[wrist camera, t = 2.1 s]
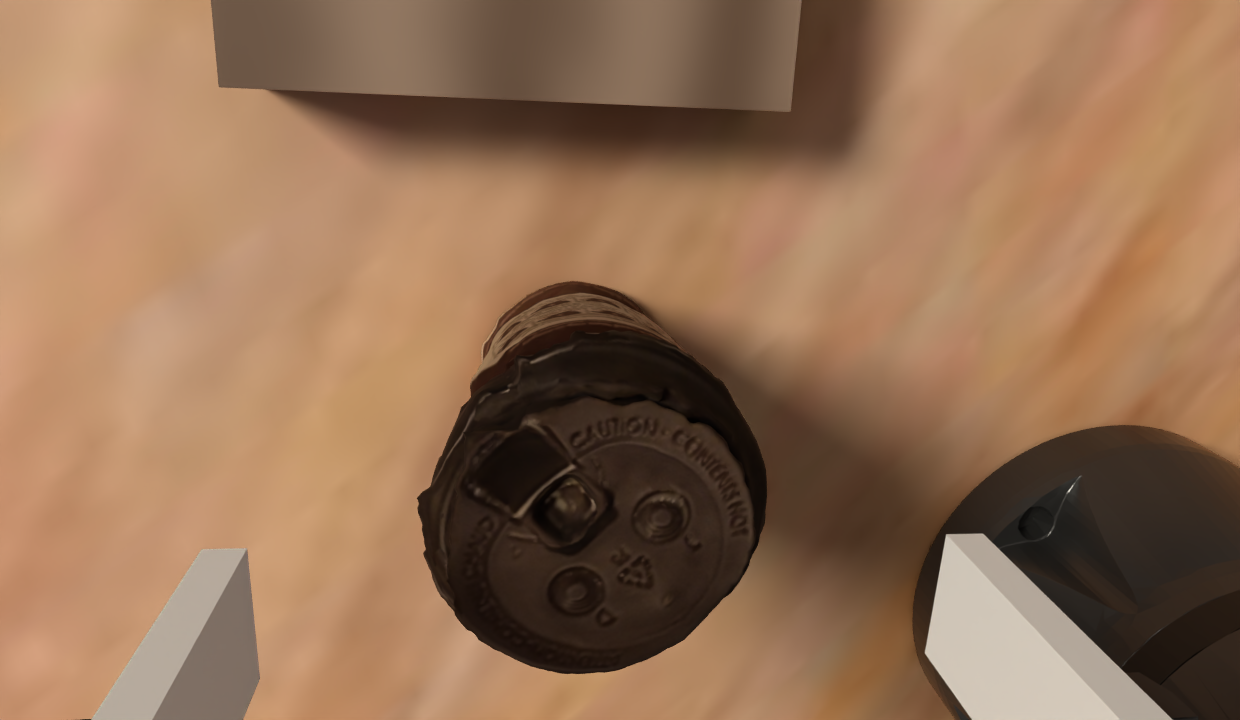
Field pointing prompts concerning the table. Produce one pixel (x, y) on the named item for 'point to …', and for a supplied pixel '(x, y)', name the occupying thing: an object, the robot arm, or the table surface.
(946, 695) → the robot arm
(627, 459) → the coffee cup
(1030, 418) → the table surface
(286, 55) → the block
